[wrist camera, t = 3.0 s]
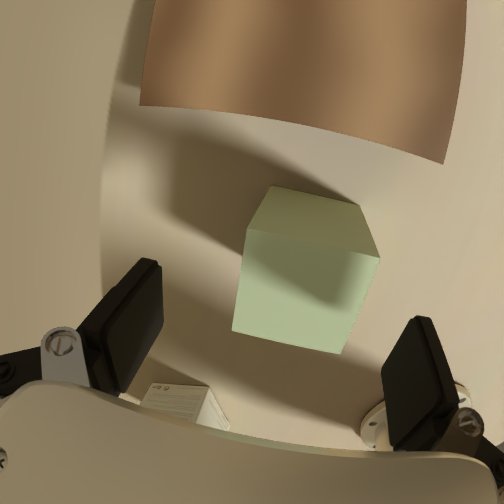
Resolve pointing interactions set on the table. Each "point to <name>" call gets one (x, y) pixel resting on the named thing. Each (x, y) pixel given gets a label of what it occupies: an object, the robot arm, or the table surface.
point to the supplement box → (186, 404)
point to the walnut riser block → (315, 64)
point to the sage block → (304, 270)
